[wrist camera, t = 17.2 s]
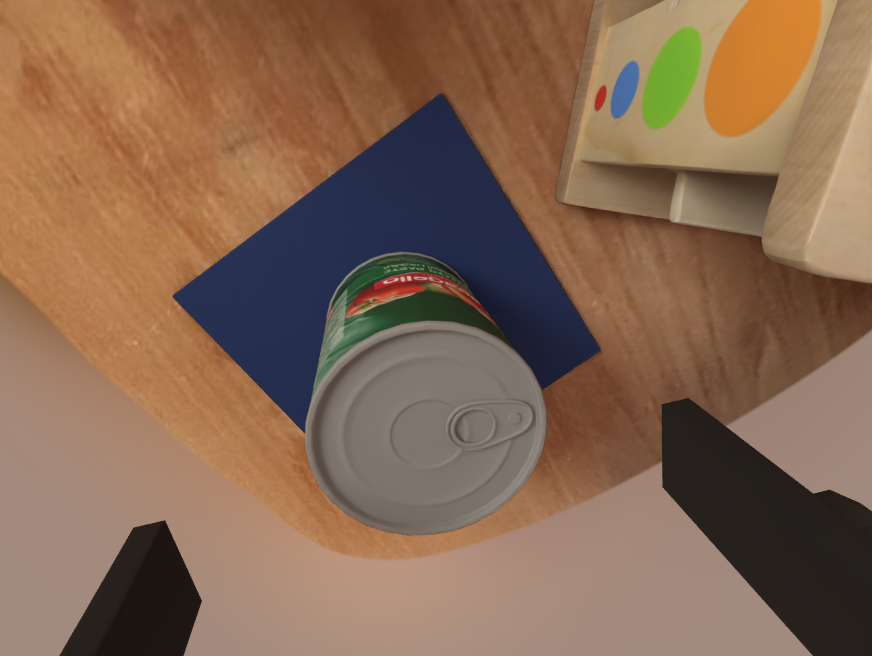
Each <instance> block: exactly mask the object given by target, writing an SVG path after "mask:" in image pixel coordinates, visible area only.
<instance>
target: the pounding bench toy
mask: <svg viewBox="0 0 872 656" xmlns="http://www.w3.org/2000/svg"><path fill="white" fill-rule="evenodd" d="M555 199H556V201H558V202H561V203H564V204H569V205H575V206H582V207H588V208H594V209H600V210H607V211H613V212H620V213H627V214H634V215H641V216H648V217H655V218H662V219H669V220H670V221H671V222H672V223H677V224H683V225H690V226H696V227H703V228H709V229H716V230H722V231H728V232H735V233H741V234H747V235H754V236H760V237H762V247H763V251H764V254H765V255H766V256H767V257H768V258H769V259H770V260H771V261H772V262H775V263H779V264H782V265H785V266H789V267H792V268H795V269H799V270H802V271H805V272H809V273H812V274H816V275H820V276H824V277H830V278H837V279H843V280H850V281H857V282H864V283H871V284H872V0H594V5H593V9H592V14H591V19H590V24H589V28H588V33H587V38H586V43H585V48H584V53H583V58H582V63H581V68H580V73H579V78H578V83H577V87H576V92H575V97H574V102H573V107H572V112H571V117H570V122H569V127H568V132H567V137H566V142H565V147H564V152H563V157H562V163H561V168H560V173H559V178H558V182H557V187H556V192H555Z"/></svg>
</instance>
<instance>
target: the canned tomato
mask: <svg viewBox="0 0 872 656" xmlns="http://www.w3.org/2000/svg"><path fill="white" fill-rule="evenodd" d="M546 432H547V409H546V405H545V401H544V397H543V393H542V389H541V387H540V385H539V383H538V381H537V379H536V377H535V375H534V373H533V371H532V369H531V368H530V367H529V366H528V364H527V363H526V362H525V361H524V360H523V359H522V357H521V356H520V355H519V354H518V353H517V352H516V350H515V349H514V347H513V346H512V345H511V344H510V342H509V341H508V339H507V338H506V337H505V336H504V334H503V333H502V331H501V330H500V329H499V327H498V326H497V325H496V324H495V322H494V321H493V319H492V318H491V317H490V316H489V314H488V313H487V312H486V310H485V309H484V307H483V306H482V305H481V303H480V302H479V301H478V300H477V298H476V297H475V296H474V294H473V293H472V292H471V290H470V289H469V288H468V286H467V284H466V283H465V281H464V280H463V279H462V278H461V277H460V276H459V274H458V273H457V272H456V271H454V270H453V269H452V268H450V267H449V266H448V265H447V264H445V263H443V262H441V261H439V260H437V259H435V258H433V257H431V256H427V255H424V254H420V253H414V252H395V253H386V254H383V255H380V256H377V257H374V258H371V259H369V260H368V261H366V262H364V263H362V264H361V265H359V266H357V267H356V268H355V269H354V270H353V271H352V272H350V273H349V274H348V275H347V276H346V277H345V278H344V280H343V281H342V282H341V284H340V285H339V286H338V287H337V289H336V291H335V293H334V295H333V297H332V299H331V301H330V305H329V309H328V313H327V322H326V326H325V332H324V337H323V342H322V347H321V352H320V358H319V363H318V367H317V373H316V377H315V383H314V389H313V394H312V398H311V403H310V407H309V411H308V415H307V419H306V429H305V447H306V451H307V456H308V461H309V465H310V468H311V470H312V472H313V474H314V476H315V479H316V481H317V483H318V485H319V486H320V488H321V489H322V490H323V491H324V493H325V494H326V495H327V497H328V498H329V499H330V500H331V502H332V503H334V504H335V505H336V506H337V507H338V508H340V509H341V510H342V511H343V512H344V513H346V514H347V515H348V516H350V517H352V518H354V519H356V520H357V521H359V522H361V523H363V524H365V525H367V526H370V527H373V528H376V529H379V530H382V531H385V532H389V533H396V534H402V535H434V534H439V533H445V532H451V531H454V530H457V529H460V528H463V527H466V526H469V525H472V524H474V523H476V522H478V521H480V520H482V519H484V518H486V517H487V516H489V515H491V514H493V513H494V512H495V511H497V510H498V509H499V508H501V507H502V506H503V505H505V504H506V503H507V502H509V501H510V500H511V499H512V498H513V497H514V496H515V495H516V494H517V492H518V491H519V490H520V489H521V488H522V487H523V486H524V485H525V483H526V482H527V480H528V479H529V477H530V476H531V474H532V473H533V471H534V470H535V468H536V465H537V463H538V461H539V458H540V456H541V453H542V451H543V448H544V442H545V437H546Z"/></svg>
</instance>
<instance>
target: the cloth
mask: <svg viewBox="0 0 872 656" xmlns="http://www.w3.org/2000/svg"><path fill="white" fill-rule="evenodd" d="M395 252H414V253H420V254H424V255H427V256H431V257H433V258H435V259H437V260H439V261H441V262H443V263H445V264H447V265H448V266H449V267H450V268H452V269H453V270H454V271H456V272H457V273H458V274H459V276H460V277H461V278H462V279H463V280H464V281H465V283H466V284H467V286H468V288H469V289H470V290H471V292H472V293H473V294H474V296H475V297H476V298H477V300H478V301H479V302H480V303H481V305H482V306H483V307H484V309H485V310H486V312H487V313H488V314H489V316H490V317H491V318H492V319H493V321H494V322H495V324H496V325H497V326H498V327H499V329H500V330H501V331H502V333H503V334H504V336H505V337H506V338H507V339H508V341H509V342H510V344H511V345H512V346H513V347H514V349H515V350H516V352H517V353H518V354H519V355H520V356H521V357H522V359H523V360H524V361H525V362H526V363H527V364H528V366H529V367H530V368H531V369H532V371H533V373H534V375H535V377H536V379H537V381H538V383H539V385H540V387H541V389H542V390H543V389H544V388H546V387H547V386H549V385H550V384H552V383H553V382H554V381H556V380H557V379H559V378H560V377H562V376H563V375H565V374H566V373H568V372H569V371H571V370H572V369H574V368H575V367H577V366H578V365H580V364H581V363H583V362H584V361H586V360H587V359H589V358H590V357H592V356H593V355H594V354H596V353H597V352H599V351H600V348H599V347H598V345H597V343H596V342H595V340H594V338H593V337H592V335H591V334H590V332H589V330H588V329H587V327H586V325H585V324H584V322H583V321H582V319H581V317H580V316H579V314H578V312H577V311H576V309H575V308H574V306H573V304H572V303H571V301H570V300H569V298H568V296H567V295H566V293H565V291H564V290H563V288H562V287H561V285H560V283H559V282H558V280H557V278H556V277H555V275H554V274H553V272H552V270H551V269H550V267H549V265H548V264H547V262H546V261H545V259H544V257H543V256H542V254H541V252H540V251H539V249H538V248H537V246H536V244H535V243H534V241H533V240H532V238H531V236H530V235H529V233H528V231H527V230H526V228H525V227H524V225H523V223H522V222H521V220H520V218H519V217H518V215H517V214H516V212H515V210H514V209H513V207H512V205H511V204H510V202H509V201H508V199H507V197H506V196H505V194H504V193H503V191H502V189H501V188H500V186H499V184H498V183H497V181H496V180H495V178H494V176H493V175H492V173H491V171H490V170H489V168H488V167H487V165H486V163H485V162H484V160H483V158H482V157H481V155H480V154H479V152H478V150H477V149H476V147H475V145H474V144H473V142H472V141H471V139H470V137H469V136H468V134H467V133H466V131H465V129H464V128H463V126H462V124H461V123H460V121H459V120H458V118H457V116H456V115H455V113H454V111H453V110H452V108H451V107H450V105H449V103H448V102H447V100H446V98H445V97H444V95H443V94H442V93H441V94H439V95H438V96H437V97H435V98H434V99H433V100H432V101H430V102H429V103H428V104H426V105H425V106H424V107H422V108H421V109H420V110H418V111H417V112H416V113H414V114H413V115H412V116H410V117H409V118H408V119H406V120H405V121H404V122H402V123H401V124H400V125H398V126H397V127H396V128H394V129H393V130H392V131H390V132H389V133H388V134H386V135H385V136H384V137H382V138H381V139H380V140H378V141H377V142H376V143H374V144H373V145H372V146H371V147H369V148H368V149H367V150H365V151H364V152H363V153H361V154H360V155H359V156H357V157H356V158H355V159H353V160H352V161H351V162H349V163H348V164H347V165H345V166H344V167H343V168H341V169H340V170H339V171H337V172H336V173H335V174H333V175H332V176H331V177H329V178H328V179H327V180H325V181H324V182H323V183H321V184H320V185H319V186H317V187H316V188H315V189H313V190H312V191H311V192H309V193H308V194H307V195H306V196H304V197H303V198H302V199H300V200H299V201H298V202H296V203H295V204H294V205H292V206H291V207H290V208H288V209H287V210H286V211H284V212H283V213H282V214H280V215H279V216H278V217H276V218H275V219H274V220H272V221H271V222H270V223H268V224H267V225H266V226H264V227H263V228H262V229H260V230H259V231H258V232H256V233H255V234H254V235H252V236H251V237H250V238H248V239H247V240H246V241H245V242H243V243H242V244H241V245H239V246H238V247H237V248H235V249H234V250H233V251H231V252H230V253H229V254H227V255H226V256H225V257H223V258H222V259H221V260H219V261H218V262H217V263H215V264H214V265H213V266H211V267H210V268H209V269H207V270H206V271H205V272H203V273H202V274H201V275H199V276H198V277H197V278H195V279H194V280H193V281H191V282H190V283H189V284H187V285H186V286H185V287H183V288H182V289H181V290H180V291H178V292H177V293H176V294H174V295H173V296H172V297H173V298H174V299H175V300H176V301H177V302H178V303H179V304H180V305H181V306H182V307H183V308H184V309H185V310H186V311H187V312H188V313H189V314H190V315H191V316H192V317H193V318H194V320H195V321H196V322H197V323H198V324H199V325H200V326H201V327H202V328H203V329H204V330H205V331H206V332H207V333H208V334H209V335H210V336H211V337H212V338H213V339H214V340H215V341H216V342H217V343H218V344H219V345H220V346H221V347H222V348H223V349H224V350H225V351H226V353H227V354H228V355H229V356H230V357H231V358H232V359H233V360H234V361H235V362H236V363H237V364H238V365H239V366H240V367H241V368H242V369H243V370H244V371H245V372H246V373H247V374H248V375H249V376H250V377H251V378H252V379H253V380H254V381H255V382H256V383H257V384H258V386H259V387H260V388H261V389H262V390H263V391H264V392H265V393H266V394H267V395H268V396H269V397H270V398H271V399H272V400H273V401H274V402H275V403H276V404H277V405H278V406H279V407H280V408H281V409H282V410H283V411H284V412H285V413H286V414H287V415H288V416H289V417H290V419H291V420H292V421H293V422H294V423H295V424H296V425H297V426H298V427H299V428H300V429H301V430H302V431H303V432H304V433H305V429H306V419H307V415H308V411H309V407H310V403H311V398H312V394H313V389H314V383H315V377H316V373H317V367H318V363H319V358H320V352H321V347H322V342H323V337H324V332H325V326H326V322H327V313H328V309H329V305H330V301H331V299H332V297H333V295H334V293H335V291H336V289H337V287H338V286H339V285H340V284H341V282H342V281H343V280H344V278H345V277H346V276H347V275H348V274H349V273H350V272H352V271H353V270H354V269H355V268H356V267H357V266H359V265H361V264H362V263H364V262H366V261H368V260H369V259H371V258H374V257H377V256H380V255H383V254H386V253H395Z"/></svg>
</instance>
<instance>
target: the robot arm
mask: <svg viewBox="0 0 872 656" xmlns="http://www.w3.org/2000/svg"><path fill="white" fill-rule="evenodd" d="M662 478H663V488H664V489H665V490H666V491H667V492H668V494H669V495H670V496H671V497H672V498H673V499H674V500H675V502H676V503H677V504H678V505H679V506H680V507H681V508H682V509H683V511H684V512H685V513H686V514H687V515H688V516H689V517H690V518H691V519H692V521H693V522H694V523H695V524H696V525H697V526H698V527H699V529H700V530H701V531H702V532H703V533H704V534H705V535H706V536H707V537H708V539H709V540H710V541H711V542H712V543H713V544H714V545H715V546H716V548H717V549H718V550H719V551H720V552H721V553H722V554H723V555H724V557H725V558H726V559H727V560H728V561H729V562H730V563H731V564H732V565H733V566H734V568H735V569H736V570H737V571H738V572H739V573H740V575H741V576H742V577H743V578H744V579H745V580H746V581H747V582H748V583H749V585H750V586H751V587H752V588H753V589H754V590H755V591H756V592H757V594H758V595H759V596H760V597H761V598H762V599H763V600H764V601H765V602H766V604H767V605H768V606H769V607H770V608H771V609H772V610H773V611H774V613H775V614H776V615H777V616H778V617H779V618H780V619H781V620H782V622H783V623H784V624H785V625H786V626H787V627H788V628H789V629H790V631H791V632H792V633H793V634H794V635H795V636H796V637H797V638H798V640H799V641H800V642H801V643H802V644H803V645H804V646H805V647H806V648H807V650H808V651H809V652H810V653H811V654H812V655H813V656H872V511H871V510H869V509H868V508H866V507H865V506H863V505H862V504H861V503H858V502H856V501H854V500H852V499H850V498H847V497H845V496H843V495H840V494H838V493H836V492H834V491H831V490H827V491H823V492H819V493H815V494H813V493H812V492H810V491H809V490H808V489H806V488H805V487H804V486H803V485H801V484H800V483H799V482H797V481H796V480H795V479H793V478H792V477H791V476H789V475H788V474H787V473H786V472H784V471H783V470H782V469H780V468H779V467H778V466H776V465H775V464H774V463H772V462H771V461H770V460H769V459H767V458H766V457H765V456H763V455H762V454H760V453H759V452H758V451H757V450H756V449H754V448H753V447H752V446H750V445H749V444H748V443H746V442H745V441H744V440H742V439H741V438H740V437H739V436H737V435H736V434H735V433H733V432H732V431H731V430H729V429H728V428H727V427H726V426H724V425H723V424H722V423H720V422H719V421H718V420H716V419H715V418H714V417H713V416H711V415H710V414H709V413H707V412H706V411H705V410H703V409H702V408H701V407H699V406H698V405H697V404H696V403H694V402H693V401H692V400H690V399H689V398H687V399H683V400H678V401H674V402H670V403H666V404H662ZM201 602H202V600H201V598H200V596H199V593H198V591H197V589H196V587H195V585H194V583H193V580H192V578H191V576H190V574H189V572H188V569H187V568H186V565H185V563H184V561H183V559H182V557H181V554H180V552H179V550H178V548H177V545H176V543H175V541H174V539H173V537H172V535H171V533H170V530H169V528H168V526H167V524H166V521H160V522H156V523H152V524H147V525H143V526H139V527H135V528H133V530H132V531H131V533H130V535H129V536H128V538H127V540H126V542H125V543H124V545H123V547H122V549H121V550H120V552H119V554H118V555H117V557H116V559H115V561H114V563H113V564H112V566H111V568H110V569H109V571H108V573H107V574H106V576H105V578H104V580H103V581H102V583H101V585H100V587H99V589H98V590H97V592H96V593H95V595H94V597H93V599H92V600H91V602H90V604H89V606H88V607H87V609H86V611H85V613H84V614H83V616H82V618H81V619H80V621H79V623H78V625H77V626H76V628H75V630H74V632H73V633H72V635H71V637H70V638H69V640H68V642H67V644H66V645H65V647H64V649H63V651H62V652H61V654H60V656H183V655H184V653H185V650H186V647H187V644H188V641H189V638H190V634H191V632H192V629H193V626H194V623H195V620H196V617H197V614H198V610H199V608H200V605H201Z"/></svg>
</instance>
